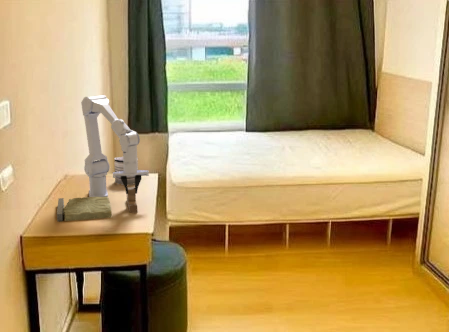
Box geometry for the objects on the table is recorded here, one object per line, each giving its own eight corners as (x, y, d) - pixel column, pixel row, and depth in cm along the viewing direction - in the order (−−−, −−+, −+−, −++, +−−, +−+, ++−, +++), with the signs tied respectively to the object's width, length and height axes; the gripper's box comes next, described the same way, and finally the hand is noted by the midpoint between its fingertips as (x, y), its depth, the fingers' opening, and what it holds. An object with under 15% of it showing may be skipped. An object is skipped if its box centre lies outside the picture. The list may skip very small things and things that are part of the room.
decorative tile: (109, 202, 238) (108, 194, 237) (112, 218, 220) (111, 210, 219) (64, 206, 234) (63, 198, 233) (63, 222, 215) (62, 213, 214)
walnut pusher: (126, 201, 240) (126, 183, 237) (133, 200, 240) (133, 182, 238) (130, 213, 225) (129, 194, 222) (137, 212, 225) (136, 193, 223)
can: (109, 182, 266) (108, 158, 263) (126, 177, 275) (125, 153, 272) (128, 186, 260) (127, 161, 257) (143, 180, 269) (143, 156, 266)
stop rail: (59, 205, 233) (58, 198, 232) (63, 204, 233) (63, 198, 233) (57, 221, 214) (56, 214, 213) (62, 221, 215) (62, 213, 214)
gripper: (112, 164, 222) (114, 197, 226) (149, 162, 226) (150, 194, 229) (111, 160, 229) (113, 192, 232) (147, 158, 232) (148, 189, 236)
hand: (131, 193), depth 231 cm, fingers open, 3 cm apart
